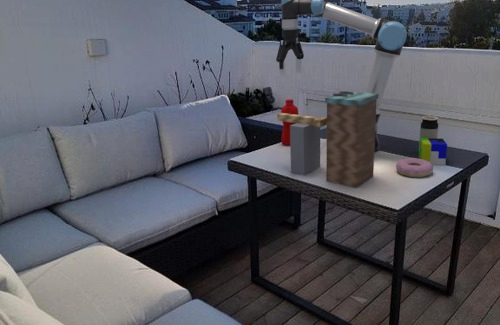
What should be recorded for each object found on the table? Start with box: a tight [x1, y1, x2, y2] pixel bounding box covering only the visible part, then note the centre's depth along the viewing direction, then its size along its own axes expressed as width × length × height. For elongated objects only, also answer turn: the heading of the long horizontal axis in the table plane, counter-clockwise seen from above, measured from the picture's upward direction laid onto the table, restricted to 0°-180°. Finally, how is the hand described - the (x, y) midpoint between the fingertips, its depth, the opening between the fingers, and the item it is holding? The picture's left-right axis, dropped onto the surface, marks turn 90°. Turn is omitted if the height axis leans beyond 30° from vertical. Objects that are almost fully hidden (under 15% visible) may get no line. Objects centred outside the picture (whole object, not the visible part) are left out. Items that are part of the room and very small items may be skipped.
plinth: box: [290, 123, 321, 176], centre depth 200 cm, size 7×14×22 cm, turn 140°
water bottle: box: [280, 98, 299, 147], centre depth 242 cm, size 9×11×25 cm
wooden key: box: [276, 112, 327, 128], centre depth 198 cm, size 24×7×3 cm, turn 50°
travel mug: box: [418, 115, 439, 148], centre depth 215 cm, size 8×8×18 cm
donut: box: [395, 157, 434, 178], centre depth 193 cm, size 16×15×5 cm
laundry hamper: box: [324, 90, 379, 189], centre depth 184 cm, size 15×17×37 cm
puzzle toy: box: [418, 137, 448, 166], centre depth 204 cm, size 10×10×10 cm
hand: (290, 74), depth 215 cm, fingers open, 13 cm apart
